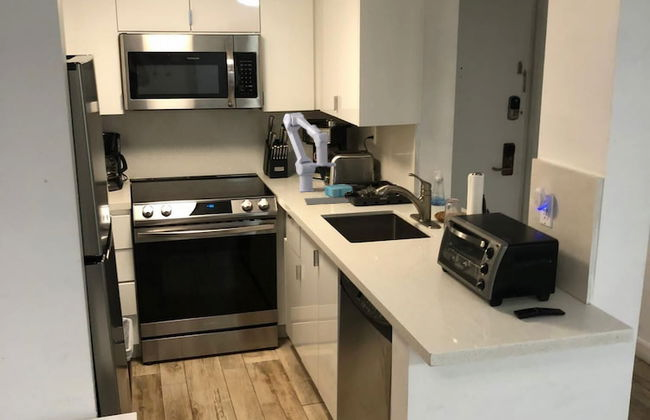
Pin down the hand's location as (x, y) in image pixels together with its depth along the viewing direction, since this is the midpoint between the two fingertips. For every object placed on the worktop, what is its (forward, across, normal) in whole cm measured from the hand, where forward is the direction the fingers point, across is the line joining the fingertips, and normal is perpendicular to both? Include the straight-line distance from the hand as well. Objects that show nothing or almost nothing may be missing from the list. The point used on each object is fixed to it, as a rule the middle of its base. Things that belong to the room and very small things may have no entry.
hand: (322, 180), depth 362 cm
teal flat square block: (+5, +2, -6) cm, 8 cm away
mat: (+8, 0, -17) cm, 18 cm away
